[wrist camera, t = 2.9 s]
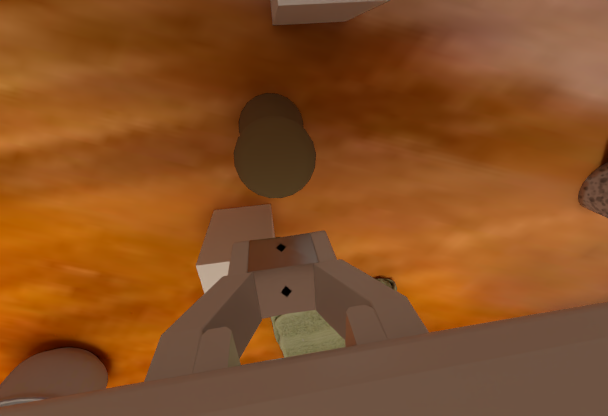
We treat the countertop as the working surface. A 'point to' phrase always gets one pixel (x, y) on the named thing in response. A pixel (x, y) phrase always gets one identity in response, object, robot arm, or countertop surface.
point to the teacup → (53, 376)
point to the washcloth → (309, 331)
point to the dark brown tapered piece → (273, 147)
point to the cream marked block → (230, 238)
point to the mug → (596, 191)
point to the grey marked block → (319, 10)
